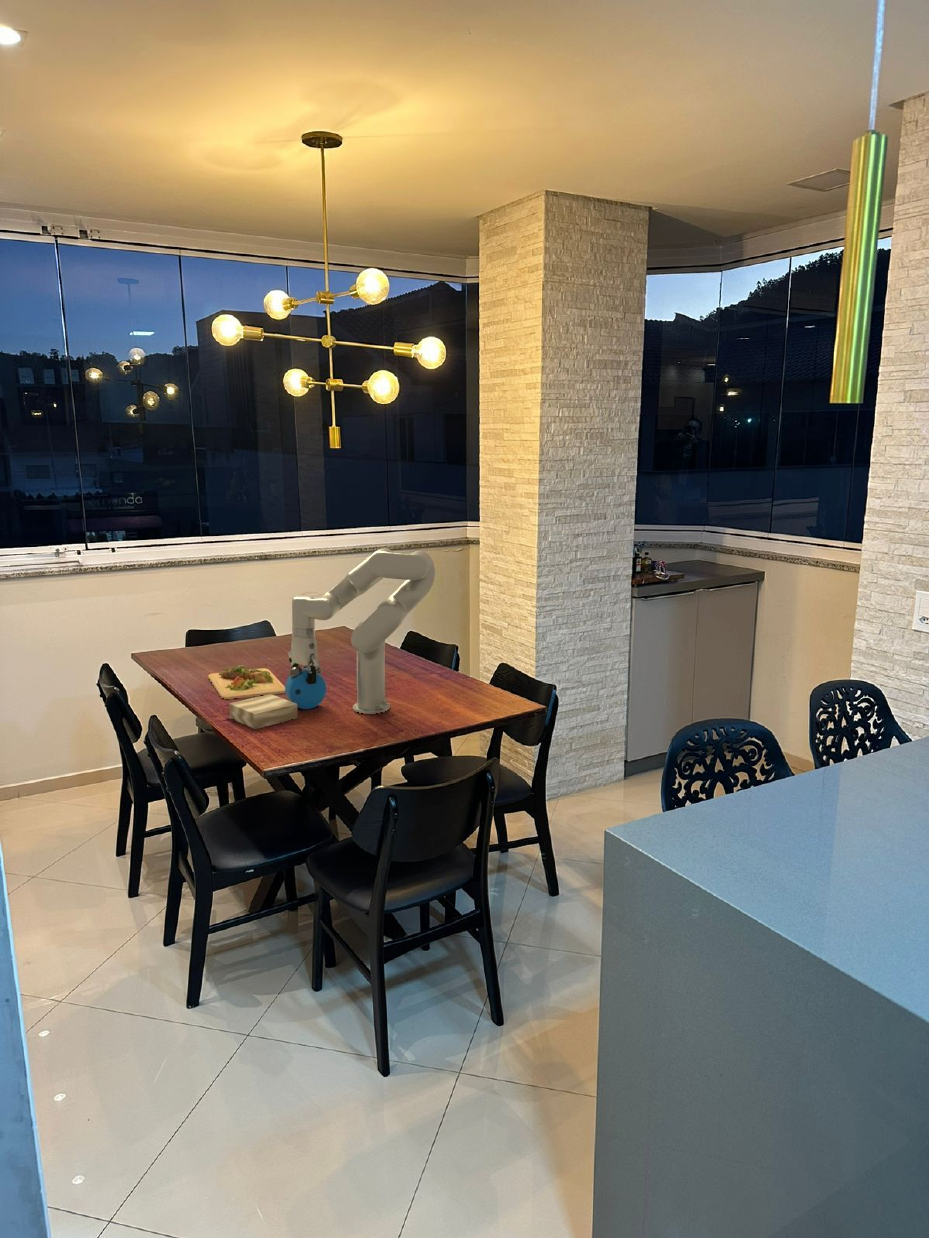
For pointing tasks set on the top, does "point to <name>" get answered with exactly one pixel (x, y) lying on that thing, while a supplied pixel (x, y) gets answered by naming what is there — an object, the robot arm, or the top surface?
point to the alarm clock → (305, 688)
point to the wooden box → (263, 711)
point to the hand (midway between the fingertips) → (303, 680)
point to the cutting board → (245, 683)
